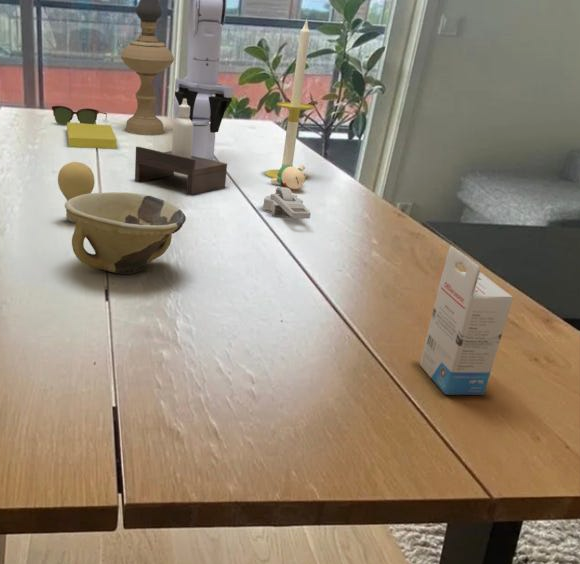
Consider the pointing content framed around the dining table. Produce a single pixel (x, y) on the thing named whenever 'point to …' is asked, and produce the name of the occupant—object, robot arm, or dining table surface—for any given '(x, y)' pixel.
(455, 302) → the ink box
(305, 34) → the candle
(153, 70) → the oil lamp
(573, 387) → the dining table surface
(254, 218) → the dining table surface
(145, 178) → the shelf
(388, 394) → the dining table surface
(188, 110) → the eye dropper bottle
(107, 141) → the flat olive board
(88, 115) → the sunglasses
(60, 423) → the dining table surface
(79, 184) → the light bulb
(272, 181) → the toy figurine
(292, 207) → the zipper pull
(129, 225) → the bowl
